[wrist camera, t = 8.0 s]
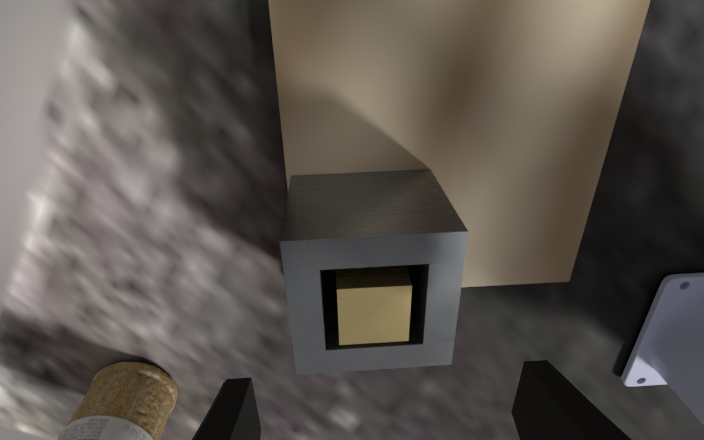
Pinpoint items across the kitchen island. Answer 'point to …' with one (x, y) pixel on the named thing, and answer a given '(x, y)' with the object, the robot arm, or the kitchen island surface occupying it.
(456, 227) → the grey hollow square block
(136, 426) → the sprinkles bottle
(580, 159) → the plate
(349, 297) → the brass post
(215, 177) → the kitchen island surface
